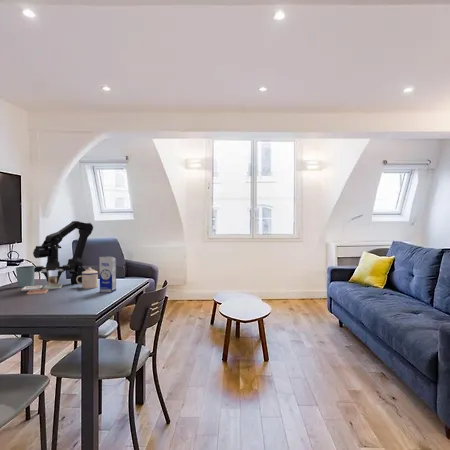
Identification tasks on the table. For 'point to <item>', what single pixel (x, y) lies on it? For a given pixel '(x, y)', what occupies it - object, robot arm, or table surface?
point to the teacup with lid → (89, 279)
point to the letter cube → (52, 280)
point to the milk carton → (107, 274)
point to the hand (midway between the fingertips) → (53, 283)
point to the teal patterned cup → (25, 276)
